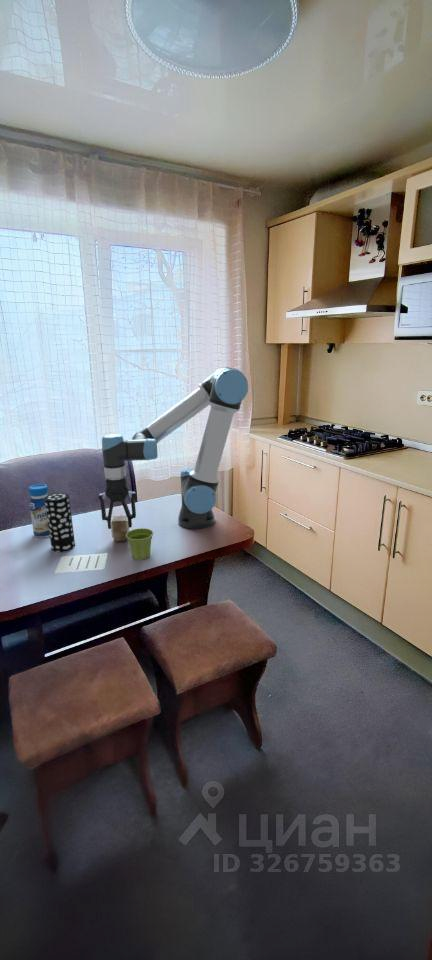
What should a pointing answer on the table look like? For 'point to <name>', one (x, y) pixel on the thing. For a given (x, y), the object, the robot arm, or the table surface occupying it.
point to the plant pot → (140, 542)
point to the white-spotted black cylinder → (60, 522)
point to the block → (119, 528)
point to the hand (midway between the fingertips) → (120, 535)
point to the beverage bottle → (39, 510)
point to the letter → (81, 563)
